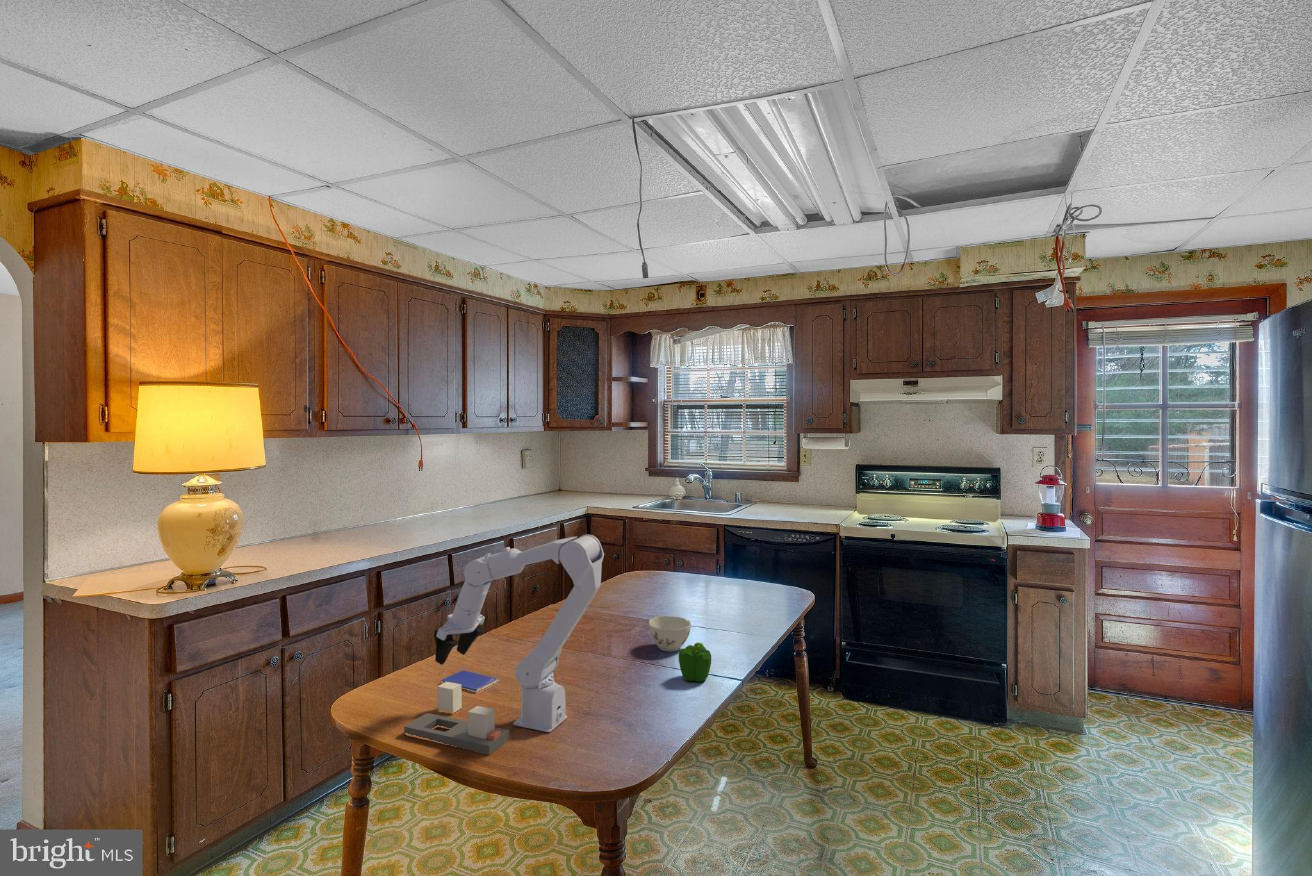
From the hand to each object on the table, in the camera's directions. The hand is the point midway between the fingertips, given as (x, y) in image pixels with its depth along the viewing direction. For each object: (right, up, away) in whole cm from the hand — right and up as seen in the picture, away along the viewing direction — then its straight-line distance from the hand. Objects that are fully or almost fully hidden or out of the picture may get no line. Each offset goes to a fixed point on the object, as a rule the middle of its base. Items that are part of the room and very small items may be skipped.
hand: (450, 657), depth 154 cm
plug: (0, -12, 0) cm, 12 cm away
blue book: (0, -13, +16) cm, 20 cm away
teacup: (+53, -11, +42) cm, 68 cm away
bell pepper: (+58, -12, +18) cm, 62 cm away
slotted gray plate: (+5, -13, -13) cm, 19 cm away
